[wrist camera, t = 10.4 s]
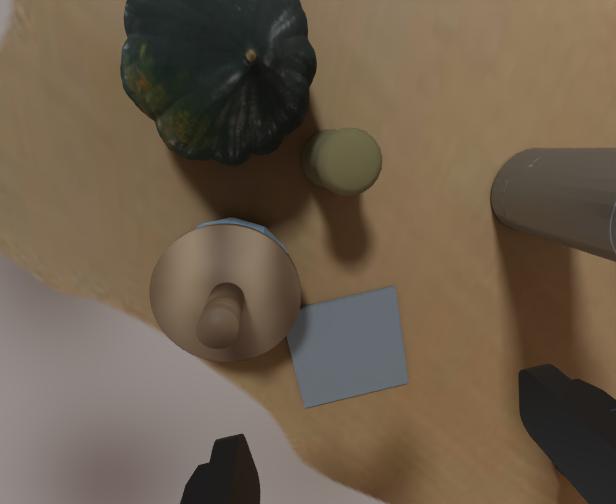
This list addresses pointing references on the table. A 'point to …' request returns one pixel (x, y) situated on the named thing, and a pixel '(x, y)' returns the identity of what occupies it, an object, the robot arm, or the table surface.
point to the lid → (225, 292)
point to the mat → (348, 347)
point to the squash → (219, 73)
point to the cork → (342, 160)
